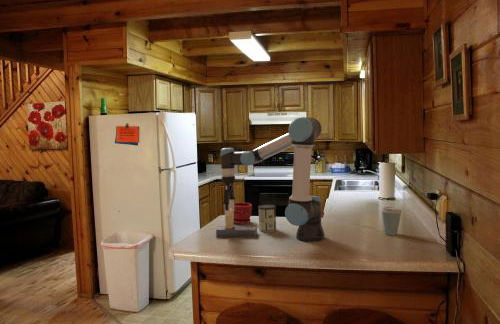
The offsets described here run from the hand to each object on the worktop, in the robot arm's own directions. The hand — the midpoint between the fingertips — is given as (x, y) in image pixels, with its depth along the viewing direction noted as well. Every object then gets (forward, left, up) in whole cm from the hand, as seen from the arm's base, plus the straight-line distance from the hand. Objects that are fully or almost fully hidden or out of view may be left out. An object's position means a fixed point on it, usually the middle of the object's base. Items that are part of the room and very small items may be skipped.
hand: (229, 213), depth 238 cm
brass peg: (0, 0, -13) cm, 13 cm away
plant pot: (-2, -31, -13) cm, 34 cm away
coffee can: (-20, -13, -13) cm, 27 cm away
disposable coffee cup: (-89, -6, -13) cm, 90 cm away
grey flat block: (-4, 0, -12) cm, 13 cm away
